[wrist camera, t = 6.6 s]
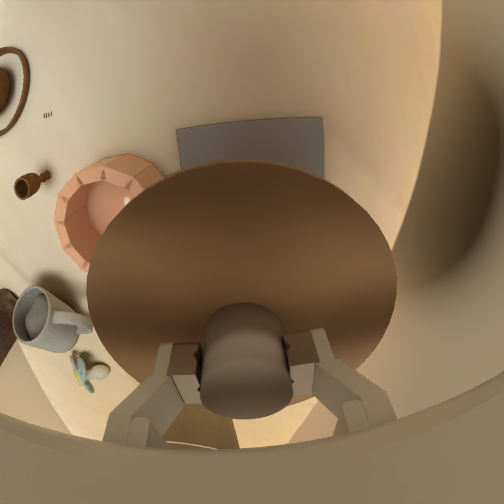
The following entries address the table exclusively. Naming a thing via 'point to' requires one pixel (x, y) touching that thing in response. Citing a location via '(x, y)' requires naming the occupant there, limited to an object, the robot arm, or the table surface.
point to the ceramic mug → (47, 321)
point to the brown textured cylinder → (6, 323)
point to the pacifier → (88, 373)
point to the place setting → (30, 181)
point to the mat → (256, 142)
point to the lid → (240, 278)
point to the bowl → (98, 201)
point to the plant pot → (201, 431)
